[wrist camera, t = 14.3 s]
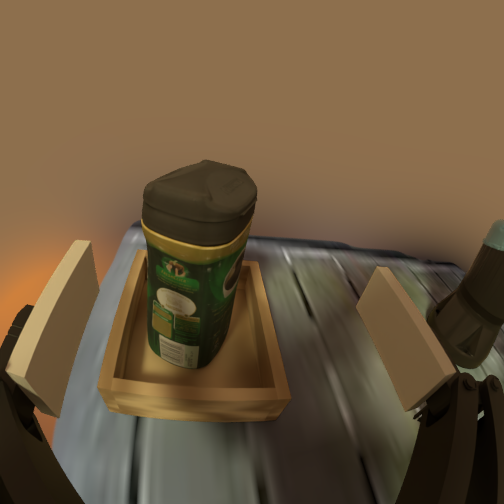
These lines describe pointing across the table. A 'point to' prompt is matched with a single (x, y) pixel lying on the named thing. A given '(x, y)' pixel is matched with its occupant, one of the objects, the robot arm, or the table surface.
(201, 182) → the coffee jar
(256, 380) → the pine crate
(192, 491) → the table surface
